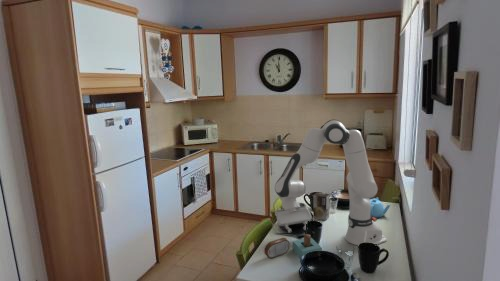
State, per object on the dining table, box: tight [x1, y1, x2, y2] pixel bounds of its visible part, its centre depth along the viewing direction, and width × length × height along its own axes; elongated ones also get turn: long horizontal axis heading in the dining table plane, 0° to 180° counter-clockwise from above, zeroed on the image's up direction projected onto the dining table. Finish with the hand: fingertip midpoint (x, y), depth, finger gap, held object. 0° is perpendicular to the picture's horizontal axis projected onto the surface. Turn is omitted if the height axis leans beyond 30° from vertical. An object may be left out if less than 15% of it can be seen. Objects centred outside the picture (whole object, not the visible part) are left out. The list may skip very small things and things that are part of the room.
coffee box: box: [312, 191, 331, 221], centre depth 207 cm, size 9×6×16 cm
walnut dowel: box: [303, 233, 312, 248], centre depth 165 cm, size 4×4×10 cm
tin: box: [263, 237, 291, 259], centre depth 164 cm, size 15×3×8 cm, turn 121°
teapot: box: [369, 197, 391, 219], centre depth 211 cm, size 15×15×11 cm
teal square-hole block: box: [292, 237, 323, 259], centre depth 166 cm, size 11×11×5 cm
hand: (298, 231), depth 174 cm, fingers open, 8 cm apart
